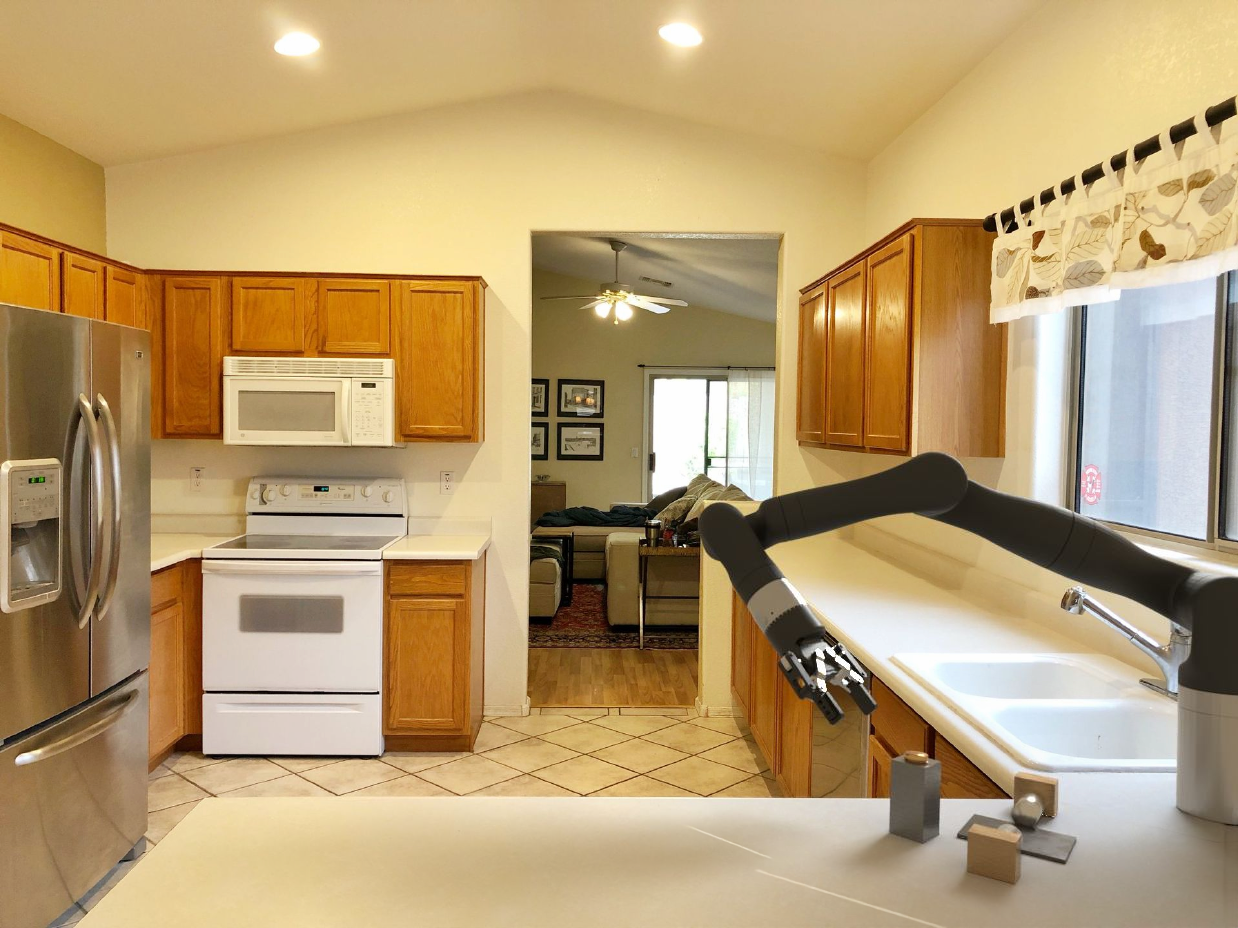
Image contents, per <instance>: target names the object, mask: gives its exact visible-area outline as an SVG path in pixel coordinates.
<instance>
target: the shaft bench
mask: <svg viewBox="0 0 1238 928" xmlns="http://www.w3.org/2000/svg"><path fill="white" fill-rule="evenodd" d="M1013 781H1014V782H1013V785H1014V786H1013V807H1012V809H1011V815H1010V816H1011V819H1012V822H1011V821H1008V820H1003V819H999V818H994V817H991V816H986V815H981V814H977V813H974V814H973V815H972V816H971V817H970V818H969V819H968V820H967V821H966V823H965V824H964V825H963V826H962V828H960V829H959V831H958V832H957V833H956V837H957V836H958V837H957V838H960V837H964V838H966V839H965V840H967V842H966V843H967V849H966V851H967V853H966V872H968V873H972V874H974V875H975V874H976V875H980V876H984V877H987V878H991V879H994V880H998V881H1002V882H1005V883H1010V884H1013V885H1016V884H1017V882H1018V880H1019V878H1020V877H1021V871H1022V870H1021V867H1022V854H1024V855H1029V856H1033V857H1036V858H1042V859H1044V860H1048V861H1052V862H1056V863H1057V862H1058V863H1061V864H1066V862H1067V861H1068V859H1069V857H1070V855H1071V852H1072V850H1073V848H1074V846H1075V844H1076V843H1077V836H1072V835H1070V834H1069V835H1068V834H1064V833H1059V832H1054V831H1050V830H1045V829H1043V828H1042V829H1041V828H1037V827H1035V825H1036V824H1037V823H1038V821H1039V820H1040V818H1041V816H1043V815H1047V816H1055V814H1056V813H1057V811H1058V812H1059V779H1058V778H1054V777H1049V776H1045V775H1038V774H1034V773H1028V772H1024V771H1017V773H1016V774H1015V775H1014V778H1013ZM1042 814H1043V815H1042ZM1057 814H1058V813H1057ZM1057 814H1056V815H1057ZM1047 816H1046V817H1047ZM1055 817H1056V816H1055ZM964 838H963V839H964Z"/></svg>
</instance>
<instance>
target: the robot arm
mask: <svg viewBox="0 0 1238 928" xmlns="http://www.w3.org/2000/svg"><path fill="white" fill-rule="evenodd" d="M967 473H968V472H967V471H966V469H965V467H964V466H963V465H962V463H961V462H960V461H959V460H958V459H957V458H955V457H954V456H952V455H950V454H947V453H946V452H945V453H944V452H939V451H928V452H927V451H926V452H922V453H920V454H917V455H916V456H914V457H911V459H909V460H908V461H905V462H903V463H901V464H898V465H896V466H894V467H891V468H888V469H887V470H883V471H880V472H877V473H873V474H869V475H866V476H863V477H860V478H857V479H852V480H847V481H843V482H838V483H833V484H832V483H831V484H828V485H822V486H817V487H814V488H813V487H812V488H807V489H803V490H799V491H798V490H797V491H793V492H789V493H785V494H781V495H777V496H773V497H769V498H767V499H765V500H763V501H762V502H760V505H759V507H758V508H757V510H755V511H754V512H751V513H748V514H747V515H744V514H743V513H742V512H741V511H740V510H739V509H738V507H736V506H734V505H732V504H730V503H727V502H723V501H722V502H721V501H718V502H713V503H710V504H709V505H707V506H705V508H704V509H703V510H702V512H701V513H700V514H699V517H698V520H697V521H698V522H697V529H698V534H699V537H700V539H701V542H702V546H703V549H704V551H705V553H706V554H707V555H708V557H710V558H711V559H713V560H714V561H716V562H717V561H718V562H720V564H721V565H722V566H723V568H724V569H725V570H726V573H727V575H728V578H729V581H730V583H731V585H732V587H733V588H734V590H735V591H736V593H737V594H738V596H739V597H740V598H741V600H742V602H743V604H745V606H746V607H747V609H748V611H749V612H750V614H751V617H752V618H753V620H754V622H755V623H756V624H757V626H758V627H759V629H760V630H761V632H762V634H763V635H764V636H765V638H766V639H767V641H768V642H769V643H770V645H771V646H772V647H773V649H774V651H775V652H776V654H777V655H778V656H779V658H780V659H779V660H778V662H777V663H776V664H777V667H778V668H779V670H780V671H781V673H782V675H783V676H784V677H785V679H786V680H787V682H788V684H789V685H790V686H791V687H790V688H792V690H793V691H794V693H795V694H796V696H797V697H798V698H799V699H800V700H802V701H804V700H805V699H808V700H809V701H810V702H812V703H814V704H815V705H816V706H817V708H818V709H819V710H820V712H821V713H822V715H823V716H824V718H825V719H826V720H827V721H828V723H829V724H830V725H832V726H834V725H837V724H839V723H840V722H841V721H842V720H843V719H844V718H845V713H844V711H843V710H842V709H841V706H840V705H839V704H838V703H837V701H836V700H835V698H834V697H833V696H832V695H831V694H830V692H829V691H827V687H826V683H825V682H829V683H831V684H832V685H833V686H840V687H841V688H843V689H844V690H845V691H846V692H848V693H849V696H850V698H852V700H853V701H854V703H855V704H856V706H857V707H858V708H859V709H860V710H861V712H862V714H863V715H864V716H869V715H872V713H874V712H875V711H876V710H877V709H878V707H879V706H878V703H877V702H876V701H875V699H874V698H873V696H872V695H871V694H870V693H869V691H868V689H866V687H865V686H864V684H863V683H864V680H865V679H866V678H867V677H868V675H867V672H866V671H865V670H864V669H863V668H862V667H861V665H859V663H858V661H857V660H856V659H855V658H854V656H853V655H852V653H850V651H848V649H847V648H846V646H845V645H844V644H842V643H841V642H838V643H837V644H836V645H835V646H833V647H831V646H830V645H829V644H828V643H827V642H826V641H825V635H826V631H827V630H826V626H825V625H824V624H823V623H822V621H821V620H820V618H819V617H818V616H817V615H816V613H815V612H814V611H813V609H812V608H811V606H810V605H809V604H808V603H807V602H806V600H805V598H804V597H803V596H802V595H801V593H800V592H799V591H798V590H797V588H795V586H793V584H791V582H790V581H789V580H788V579H787V578H786V576H785V575H784V573H783V572H782V571H781V570H780V568H779V567H778V565H777V564H776V563H775V562H774V560H772V558H771V557H770V555H768V554H767V551H766V550H767V549H770V548H772V547H774V546H775V545H778V544H783V543H787V542H792V541H796V540H800V539H805V538H810V537H812V536H817V535H821V534H825V533H828V532H831V531H834V530H835V531H836V530H838V529H841V528H845V527H847V526H851V525H854V524H857V523H862V522H864V521H869V520H871V519H872V520H873V519H876V518H883V517H887V516H893V515H894V516H895V515H900V514H901V515H902V514H914V515H917V516H919V517H923V518H927V519H929V520H930V519H931V520H934V521H937V522H941V523H943V524H946V525H950V526H952V527H954V528H958V529H962V530H964V531H967V532H970V533H972V534H974V535H976V536H978V537H981V538H983V539H985V540H987V541H989V542H991V544H994V545H996V546H998V547H999V548H1002V549H1003V550H1005V551H1008V552H1010V553H1012V554H1013V555H1016V556H1018V557H1020V558H1022V559H1024V560H1026V561H1027V562H1028V561H1029V562H1030V563H1032V564H1035V565H1037V566H1038V567H1040V568H1043V569H1046V570H1048V571H1050V572H1052V573H1054V574H1057V575H1059V576H1062V577H1064V578H1066V579H1069V580H1072V581H1075V582H1077V583H1080V584H1082V585H1086V586H1089V587H1091V588H1094V589H1097V590H1100V591H1105V592H1108V593H1111V594H1115V595H1119V596H1122V597H1124V598H1126V599H1130V600H1131V601H1134V602H1136V603H1137V604H1140V605H1141V606H1143V607H1145V608H1148V609H1149V610H1151V611H1153V612H1155V613H1157V614H1159V615H1161V616H1163V617H1164V618H1166V619H1168V621H1169V620H1170V621H1172V622H1173V623H1174V624H1176V625H1178V626H1180V627H1182V628H1183V629H1185V630H1188V632H1191V639H1190V652H1189V655H1188V657H1187V658H1186V659H1185V660H1184V661H1183V662H1181V663H1180V664H1179V665H1178V667H1177V703H1176V704H1177V714H1176V717H1177V724H1176V727H1177V729H1176V732H1177V733H1176V777H1175V778H1176V782H1175V783H1176V785H1175V787H1176V792H1175V797H1176V799H1175V805H1176V807H1177V809H1179V810H1180V811H1182V812H1184V813H1186V814H1188V815H1189V816H1193V817H1196V818H1198V819H1199V818H1200V819H1203V820H1206V821H1211V822H1216V823H1220V824H1227V825H1228V824H1229V825H1236V826H1238V576H1237V575H1232V574H1225V573H1219V572H1214V571H1213V572H1212V571H1206V570H1202V569H1197V568H1195V567H1194V568H1193V567H1190V566H1186V565H1183V564H1179V563H1176V562H1174V561H1171V560H1168V559H1165V558H1163V557H1160V556H1157V555H1155V554H1152V553H1151V552H1148V551H1146V550H1145V549H1143V548H1141V547H1139V546H1138V545H1137V544H1136V543H1134V542H1132V541H1131V540H1130V539H1128V538H1126V537H1124V536H1123V535H1121V534H1120V533H1118V532H1117V531H1115V530H1114V529H1112V528H1110V527H1109V526H1107V525H1104V524H1102V523H1100V522H1099V521H1096V520H1094V519H1092V518H1089V517H1088V516H1085V515H1083V514H1080V513H1077V512H1075V511H1073V510H1070V509H1068V508H1065V507H1062V506H1060V505H1056V504H1053V503H1049V502H1045V501H1042V500H1036V499H1033V498H1029V497H1024V496H1021V495H1015V494H1011V493H1006V492H1003V491H998V490H996V489H993V488H990V487H988V486H985V485H983V484H981V483H979V482H977V481H975V480H972V479H971V478H968V474H967ZM851 668H852V669H853V670H854V671H853V670H852V669H851ZM800 679H801V683H802V686H801V685H800V683H799V680H800ZM845 679H846V680H845Z"/></svg>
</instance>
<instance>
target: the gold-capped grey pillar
mask: <svg viewBox="0 0 1238 928" xmlns="http://www.w3.org/2000/svg"><path fill="white" fill-rule="evenodd" d="M941 773H942V761H940V760H936V759H933V758H929V754H927V753H926V752H923V751H918V750H905V751H904V754H902V755H898V756H896V757H894V758H891V759H890V786H889V787H890V788H889V789H890V791H889V793H890V794H889V820H888V821H889V824H888V826H889V827H888V833H889V834H892V835H895V836H899V837H901V838H904V839H907V840H911V841H914V842H917V843H918V844H921V845H922V844H925V843H927V842H928V841H930V839H931V840H933V839H934V838H936V837H938V836H939V835H940V822H941V821H940V820H941V819H940V815H941V813H940V812H941V781H942V780H941V779H942V778H941V777H942V776H941V775H942V774H941Z"/></svg>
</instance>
